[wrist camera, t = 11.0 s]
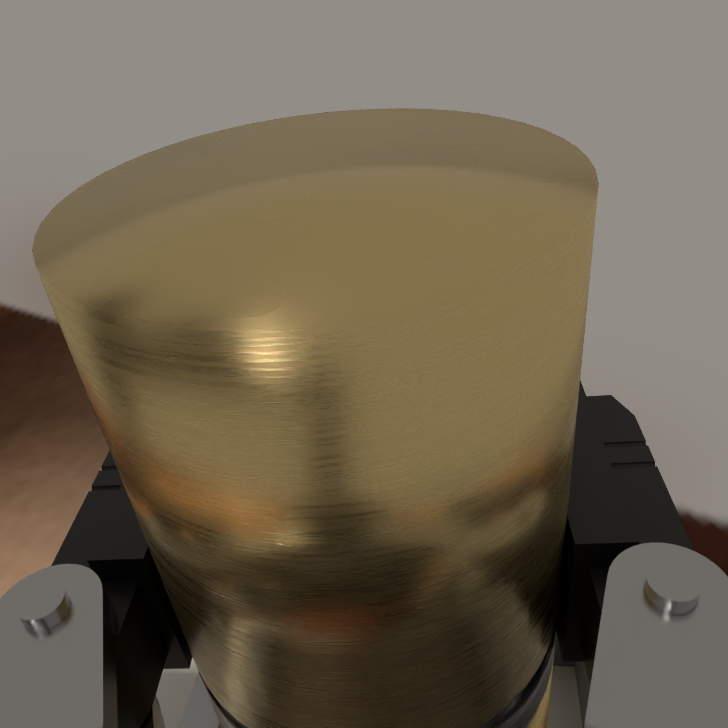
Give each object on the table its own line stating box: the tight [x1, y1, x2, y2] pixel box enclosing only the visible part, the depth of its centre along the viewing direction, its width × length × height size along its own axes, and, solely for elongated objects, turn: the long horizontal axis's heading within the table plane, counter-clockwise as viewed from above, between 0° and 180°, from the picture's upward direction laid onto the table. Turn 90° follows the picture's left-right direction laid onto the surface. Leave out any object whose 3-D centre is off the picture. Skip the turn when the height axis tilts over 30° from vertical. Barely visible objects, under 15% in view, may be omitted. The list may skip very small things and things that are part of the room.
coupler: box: [32, 109, 599, 728], centre depth 10 cm, size 5×5×12 cm
